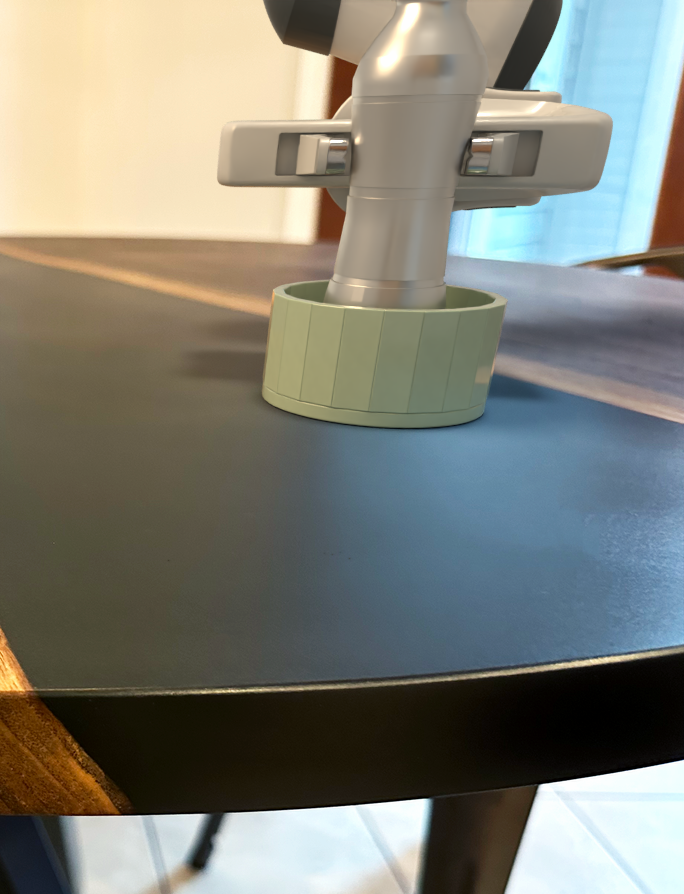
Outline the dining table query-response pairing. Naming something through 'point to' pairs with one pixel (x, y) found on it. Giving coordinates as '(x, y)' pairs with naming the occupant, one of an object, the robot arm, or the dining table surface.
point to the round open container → (381, 358)
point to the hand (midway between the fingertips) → (408, 156)
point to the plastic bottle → (408, 156)
